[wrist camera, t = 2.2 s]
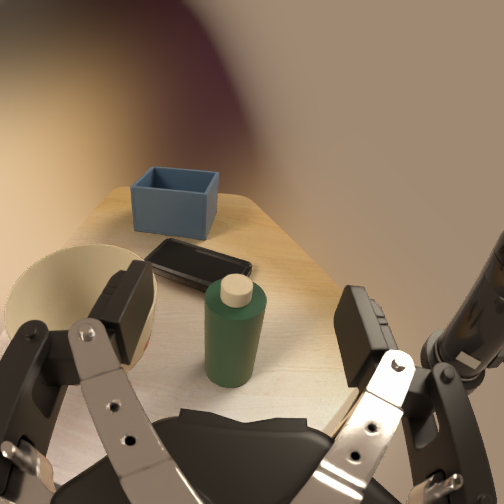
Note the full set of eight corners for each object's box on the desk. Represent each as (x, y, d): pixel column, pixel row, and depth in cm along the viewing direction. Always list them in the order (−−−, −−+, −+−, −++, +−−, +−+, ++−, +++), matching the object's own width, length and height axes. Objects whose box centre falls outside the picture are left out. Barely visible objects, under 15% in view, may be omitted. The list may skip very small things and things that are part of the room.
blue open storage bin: (216, 212, 60) (219, 172, 55) (205, 240, 51) (207, 194, 46) (153, 205, 60) (152, 166, 55) (134, 230, 51) (130, 187, 47)
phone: (234, 296, 39) (140, 262, 43) (234, 302, 40) (141, 268, 43) (254, 262, 46) (168, 236, 49) (253, 268, 46) (168, 242, 49)
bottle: (254, 352, 34) (270, 268, 27) (250, 391, 30) (267, 311, 22) (209, 346, 34) (211, 260, 27) (201, 383, 30) (198, 301, 22)
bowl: (134, 441, 23) (104, 395, 17) (18, 380, 24) (-23, 322, 19) (186, 326, 36) (183, 261, 30) (82, 293, 37) (65, 233, 32)
